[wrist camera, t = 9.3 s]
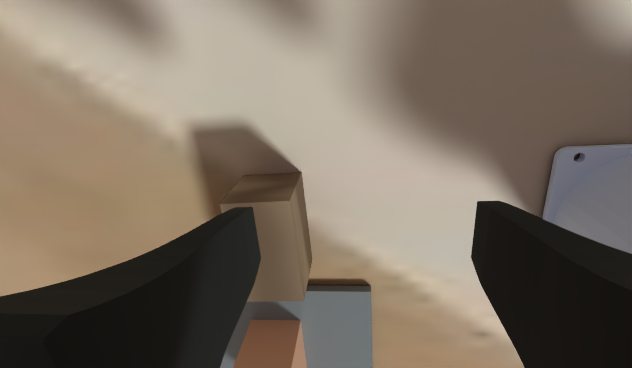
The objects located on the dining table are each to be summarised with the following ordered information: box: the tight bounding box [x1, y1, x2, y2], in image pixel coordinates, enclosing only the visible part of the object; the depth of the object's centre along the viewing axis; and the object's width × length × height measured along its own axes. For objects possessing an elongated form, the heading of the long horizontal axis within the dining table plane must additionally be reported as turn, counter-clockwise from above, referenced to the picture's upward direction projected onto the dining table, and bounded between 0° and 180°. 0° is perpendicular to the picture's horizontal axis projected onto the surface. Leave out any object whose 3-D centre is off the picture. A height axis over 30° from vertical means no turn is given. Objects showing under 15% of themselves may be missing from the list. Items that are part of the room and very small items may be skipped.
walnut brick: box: [219, 172, 312, 302], centre depth 19 cm, size 4×6×4 cm, turn 6°
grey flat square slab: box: [220, 285, 373, 368], centre depth 25 cm, size 13×12×1 cm
